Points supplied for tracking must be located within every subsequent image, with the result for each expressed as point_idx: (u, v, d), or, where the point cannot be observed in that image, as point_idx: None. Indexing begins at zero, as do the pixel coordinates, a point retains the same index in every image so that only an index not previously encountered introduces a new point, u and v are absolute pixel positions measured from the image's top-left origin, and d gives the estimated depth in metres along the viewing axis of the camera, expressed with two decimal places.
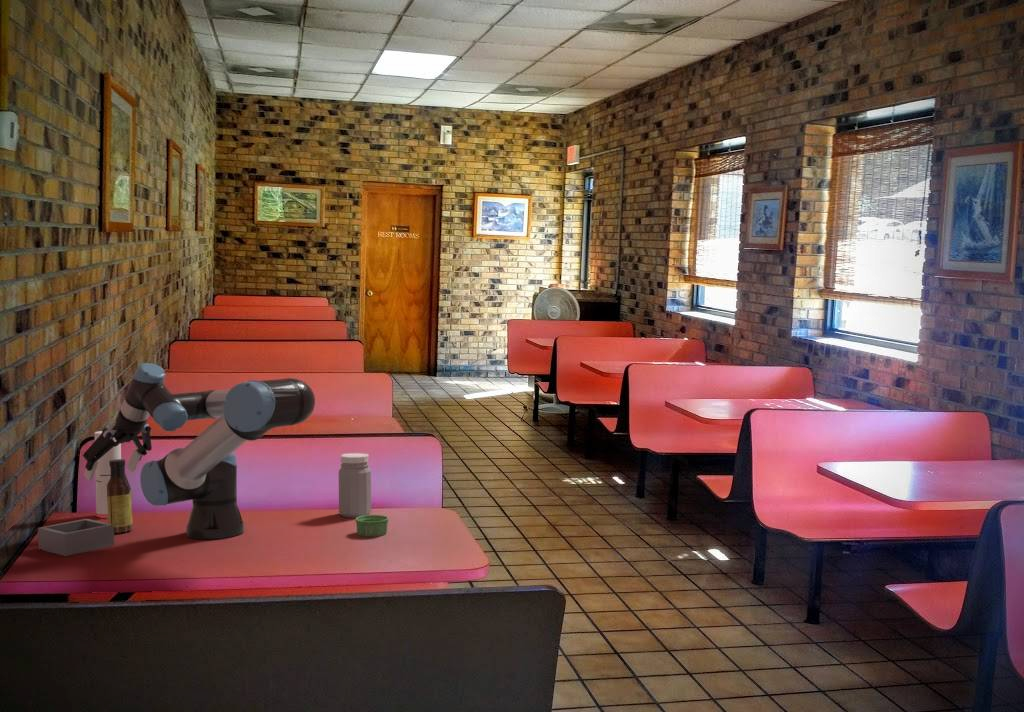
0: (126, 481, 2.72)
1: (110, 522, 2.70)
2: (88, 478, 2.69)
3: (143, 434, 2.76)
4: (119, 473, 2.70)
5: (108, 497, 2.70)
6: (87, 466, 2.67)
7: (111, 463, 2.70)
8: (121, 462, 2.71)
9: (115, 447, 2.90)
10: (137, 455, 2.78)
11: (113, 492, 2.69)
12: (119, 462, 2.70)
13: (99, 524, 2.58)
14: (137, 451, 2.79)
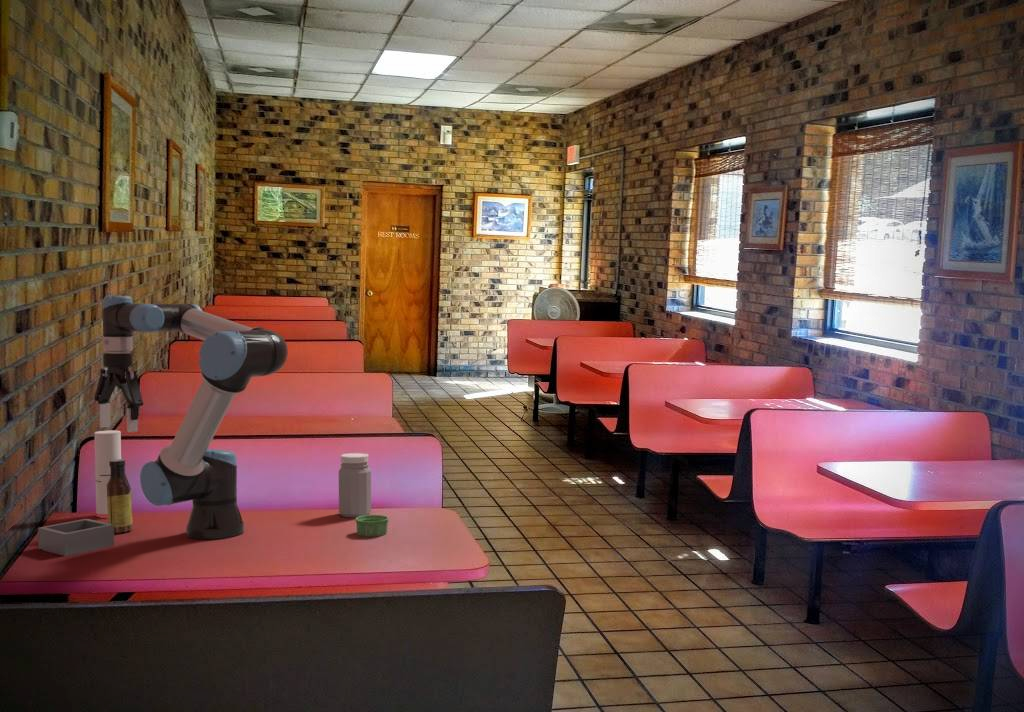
0: (126, 481, 2.72)
1: (110, 522, 2.70)
2: (136, 429, 2.67)
3: (104, 381, 2.74)
4: (119, 473, 2.70)
5: (108, 497, 2.70)
6: (136, 415, 2.66)
7: (111, 463, 2.70)
8: (121, 462, 2.71)
9: (115, 447, 2.90)
10: (108, 405, 2.75)
11: (113, 492, 2.69)
12: (119, 462, 2.70)
13: (99, 524, 2.58)
14: (104, 403, 2.75)
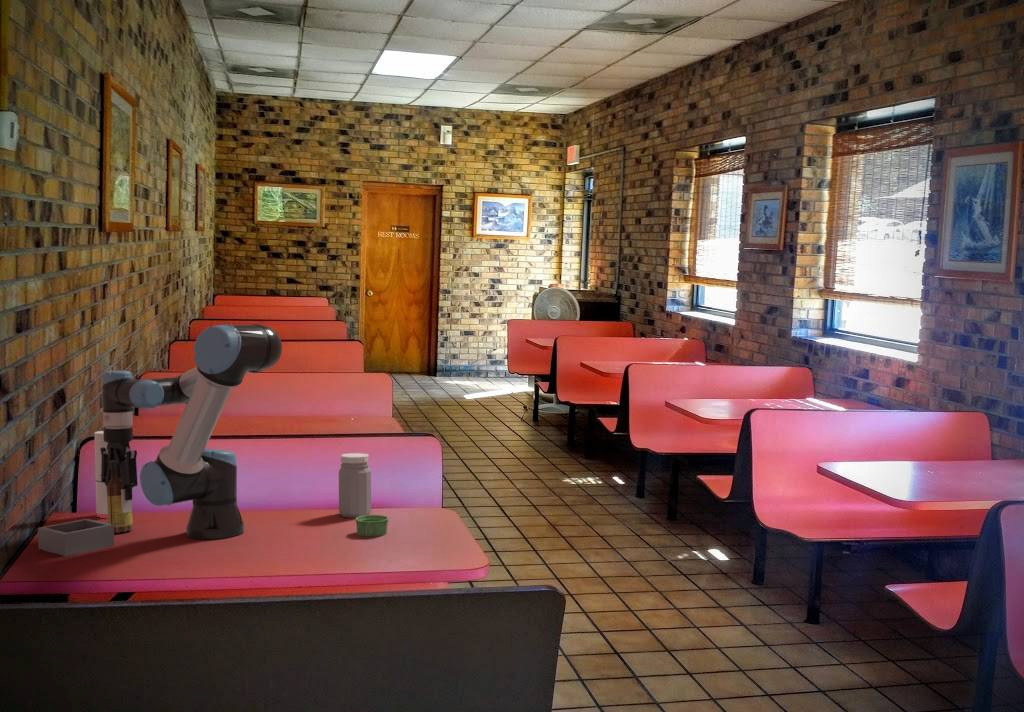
0: None
1: (110, 522, 2.70)
2: (130, 509, 2.71)
3: None
4: None
5: (108, 497, 2.70)
6: (130, 496, 2.69)
7: (111, 463, 2.70)
8: None
9: None
10: None
11: (113, 492, 2.69)
12: None
13: (99, 524, 2.58)
14: None
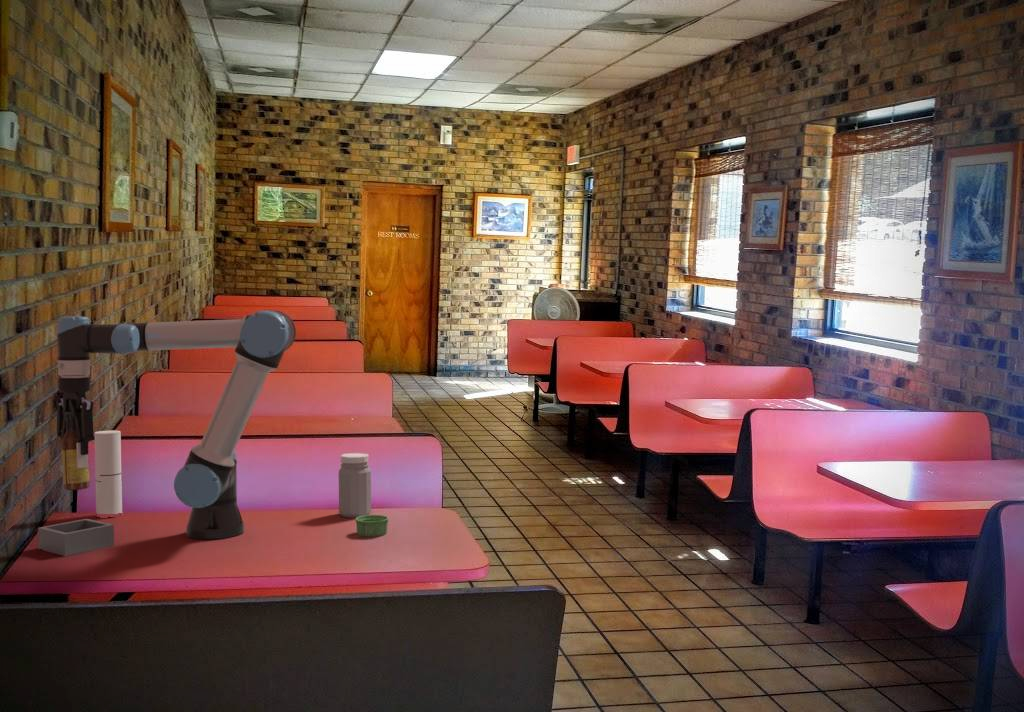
0: None
1: (65, 478, 2.52)
2: (86, 464, 2.53)
3: (63, 412, 2.56)
4: (75, 426, 2.52)
5: (63, 451, 2.52)
6: (86, 450, 2.51)
7: (66, 415, 2.52)
8: None
9: (115, 447, 2.90)
10: None
11: (68, 446, 2.51)
12: None
13: (99, 524, 2.58)
14: None
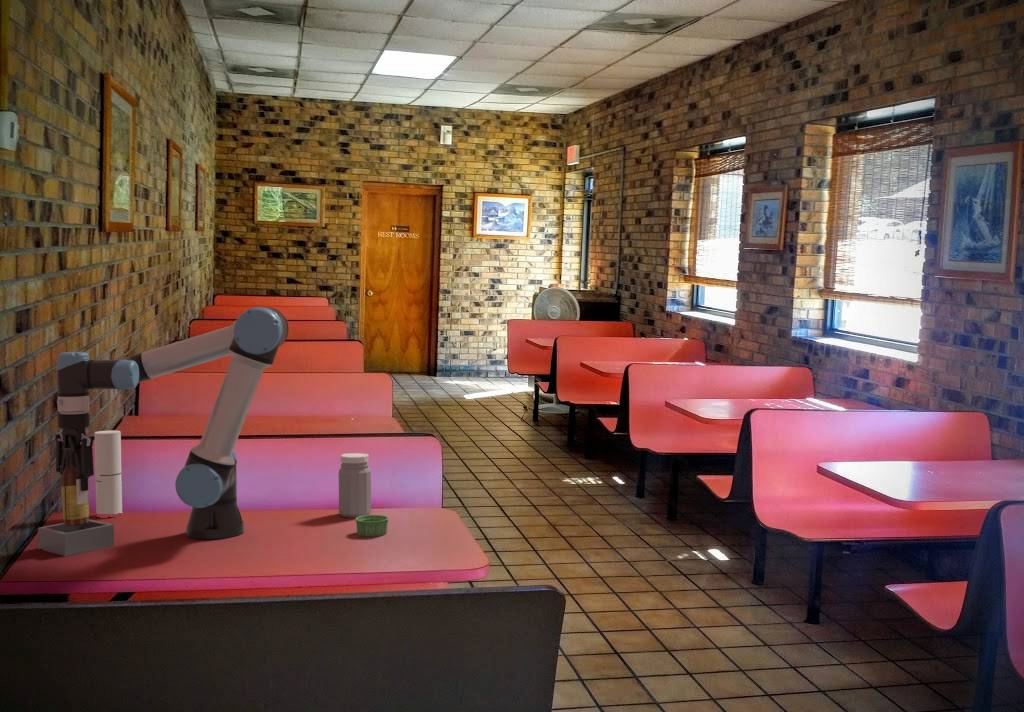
0: None
1: (64, 514, 2.52)
2: (86, 500, 2.53)
3: None
4: (75, 462, 2.52)
5: (62, 487, 2.51)
6: (86, 486, 2.51)
7: (66, 451, 2.52)
8: None
9: (115, 447, 2.90)
10: None
11: (67, 482, 2.51)
12: None
13: (99, 524, 2.58)
14: None
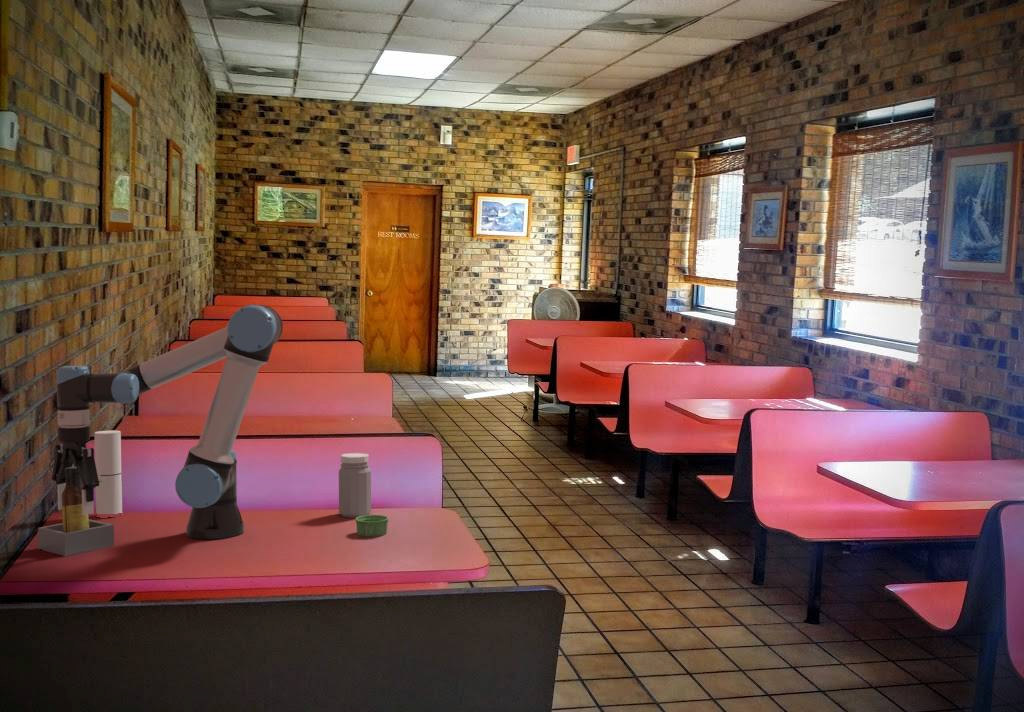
0: None
1: None
2: (92, 511, 2.51)
3: (61, 458, 2.57)
4: (75, 481, 2.53)
5: (63, 507, 2.52)
6: (91, 497, 2.50)
7: (66, 470, 2.52)
8: (77, 469, 2.53)
9: (115, 447, 2.90)
10: None
11: (68, 502, 2.51)
12: (75, 469, 2.53)
13: (99, 524, 2.58)
14: (62, 484, 2.57)
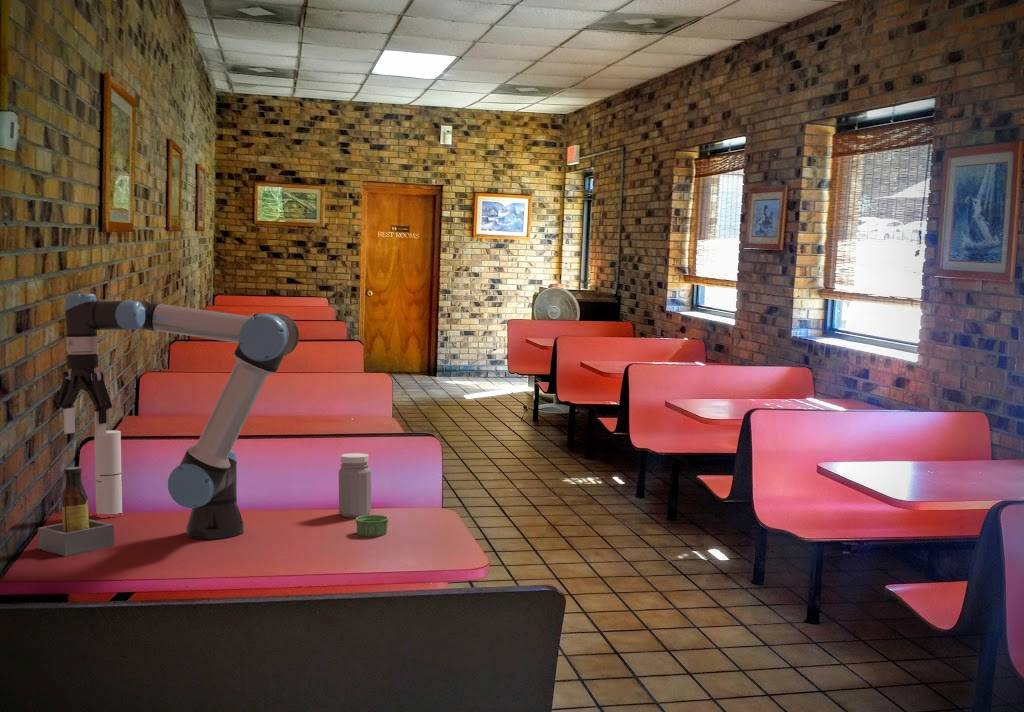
0: (82, 490, 2.54)
1: None
2: (104, 433, 2.54)
3: (68, 385, 2.60)
4: (75, 482, 2.53)
5: (63, 507, 2.52)
6: (104, 419, 2.52)
7: (66, 471, 2.52)
8: (77, 470, 2.53)
9: (115, 447, 2.90)
10: (72, 410, 2.61)
11: (68, 503, 2.51)
12: (75, 470, 2.52)
13: (99, 524, 2.58)
14: (68, 408, 2.60)
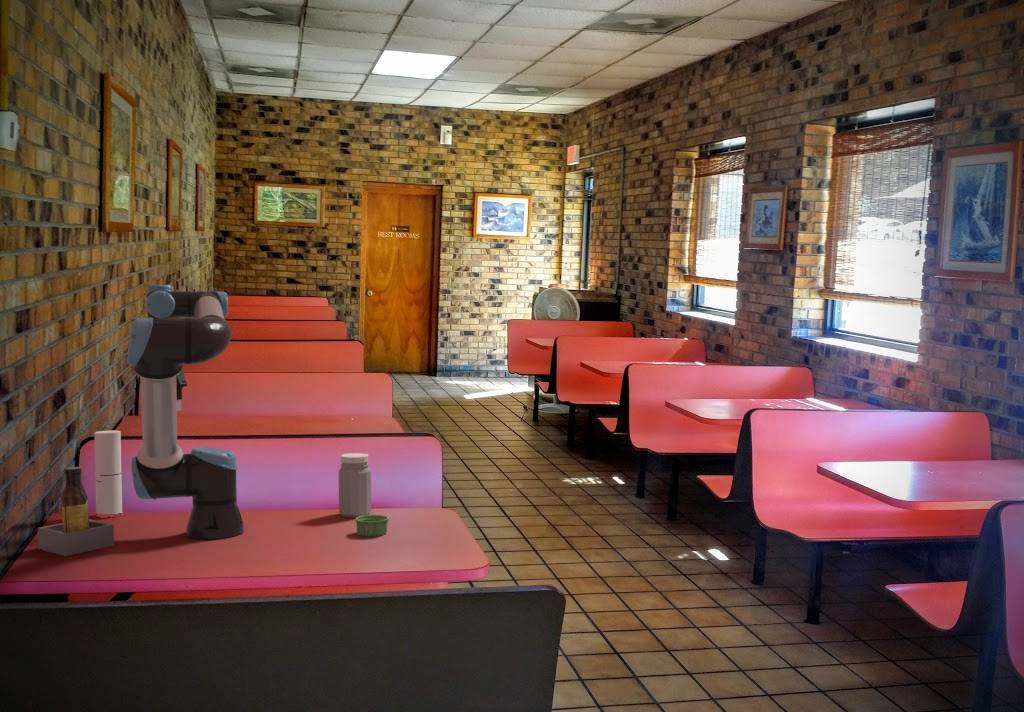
0: (82, 490, 2.54)
1: None
2: (180, 408, 2.87)
3: None
4: (75, 482, 2.53)
5: (63, 507, 2.52)
6: (180, 395, 2.86)
7: (66, 471, 2.52)
8: (77, 470, 2.53)
9: (115, 447, 2.90)
10: None
11: (68, 503, 2.51)
12: (75, 470, 2.52)
13: (99, 524, 2.58)
14: None
